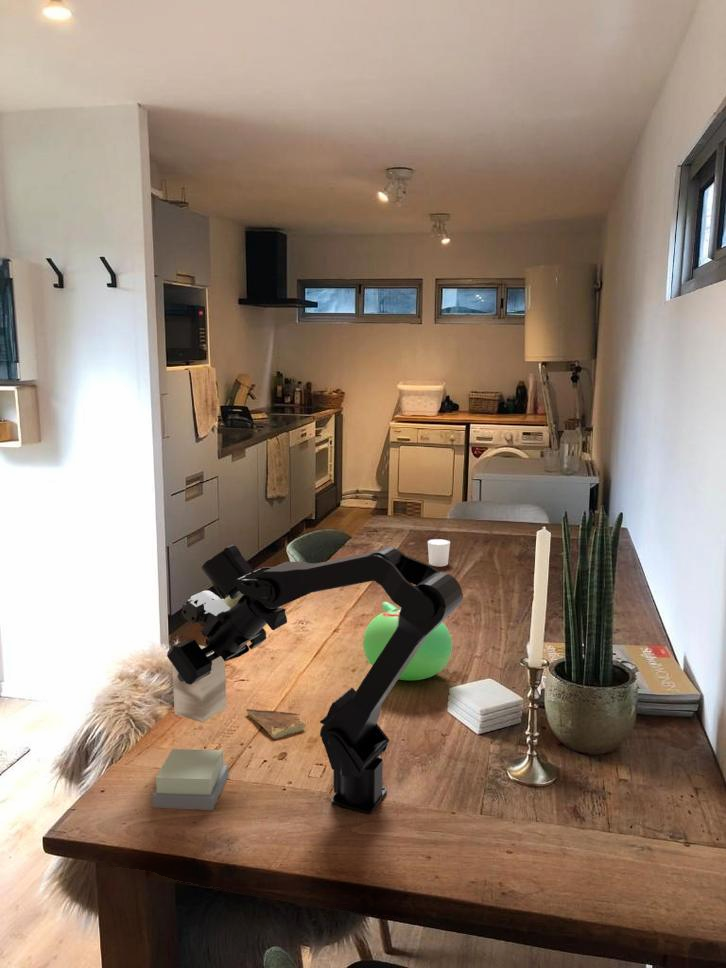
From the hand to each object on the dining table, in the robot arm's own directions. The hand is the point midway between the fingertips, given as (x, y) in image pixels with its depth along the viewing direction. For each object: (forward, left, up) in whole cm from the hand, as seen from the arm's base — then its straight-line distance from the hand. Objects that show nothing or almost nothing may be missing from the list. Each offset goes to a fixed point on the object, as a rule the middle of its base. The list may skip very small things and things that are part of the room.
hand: (192, 671), depth 127 cm
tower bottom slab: (-8, +11, -14) cm, 19 cm away
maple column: (-1, 0, -7) cm, 7 cm away
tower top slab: (-7, +11, -11) cm, 17 cm away
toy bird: (-22, -41, -14) cm, 49 cm away
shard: (-8, -11, -14) cm, 20 cm away
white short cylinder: (-2, -118, -14) cm, 119 cm away
